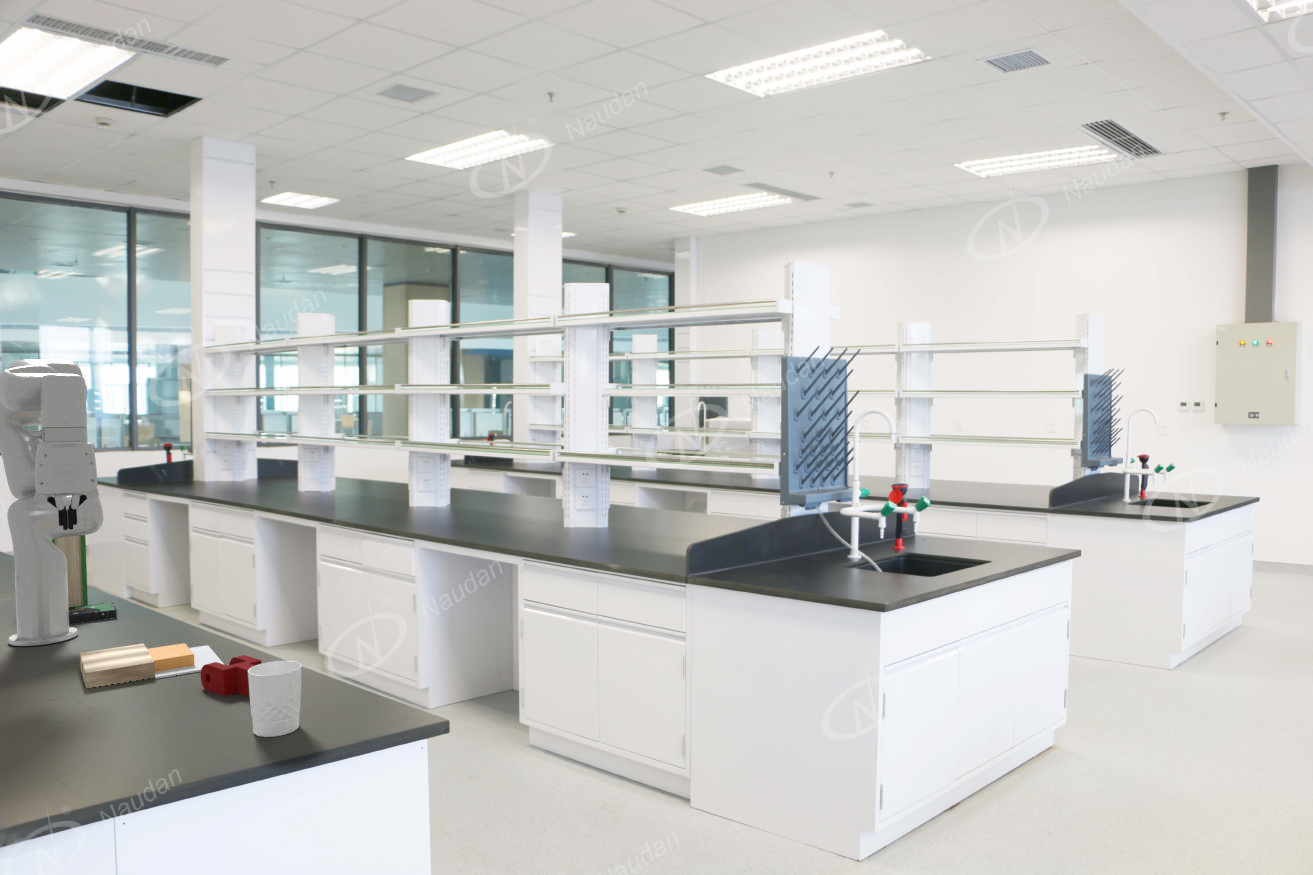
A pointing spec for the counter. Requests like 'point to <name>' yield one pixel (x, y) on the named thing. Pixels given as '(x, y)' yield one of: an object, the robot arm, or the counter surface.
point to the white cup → (275, 697)
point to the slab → (171, 657)
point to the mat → (201, 658)
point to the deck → (116, 665)
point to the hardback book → (75, 568)
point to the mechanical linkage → (228, 676)
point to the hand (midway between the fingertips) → (68, 528)
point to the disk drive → (92, 613)
